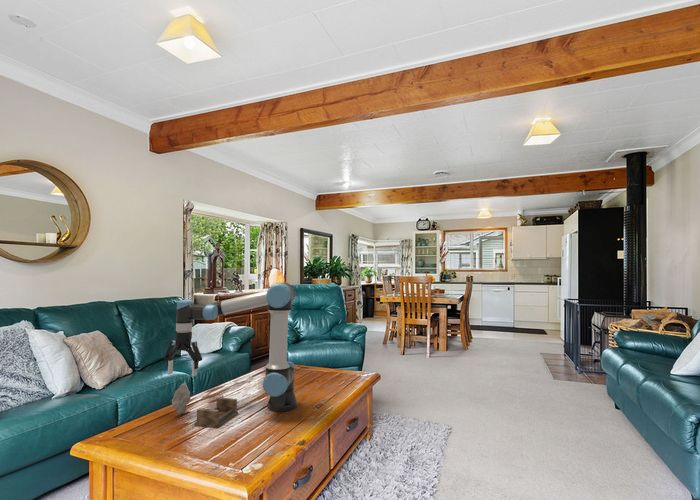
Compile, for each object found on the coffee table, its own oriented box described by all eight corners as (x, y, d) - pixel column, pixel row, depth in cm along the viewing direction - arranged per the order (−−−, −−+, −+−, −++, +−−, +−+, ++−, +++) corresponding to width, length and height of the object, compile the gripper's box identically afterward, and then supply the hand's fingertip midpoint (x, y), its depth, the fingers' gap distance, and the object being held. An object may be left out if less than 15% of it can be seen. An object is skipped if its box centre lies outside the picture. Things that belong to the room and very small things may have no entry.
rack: (238, 414, 188) (238, 399, 189) (218, 428, 171) (218, 411, 171) (216, 412, 191) (217, 397, 191) (194, 425, 173) (195, 409, 174)
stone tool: (174, 418, 182) (175, 386, 183) (169, 417, 183) (170, 385, 184) (192, 411, 192) (193, 381, 193) (187, 410, 193) (188, 380, 194)
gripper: (210, 331, 191) (209, 374, 190) (167, 329, 197) (165, 371, 195) (201, 333, 184) (199, 378, 182) (157, 331, 189) (155, 374, 188)
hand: (182, 374), depth 189 cm, fingers open, 13 cm apart
